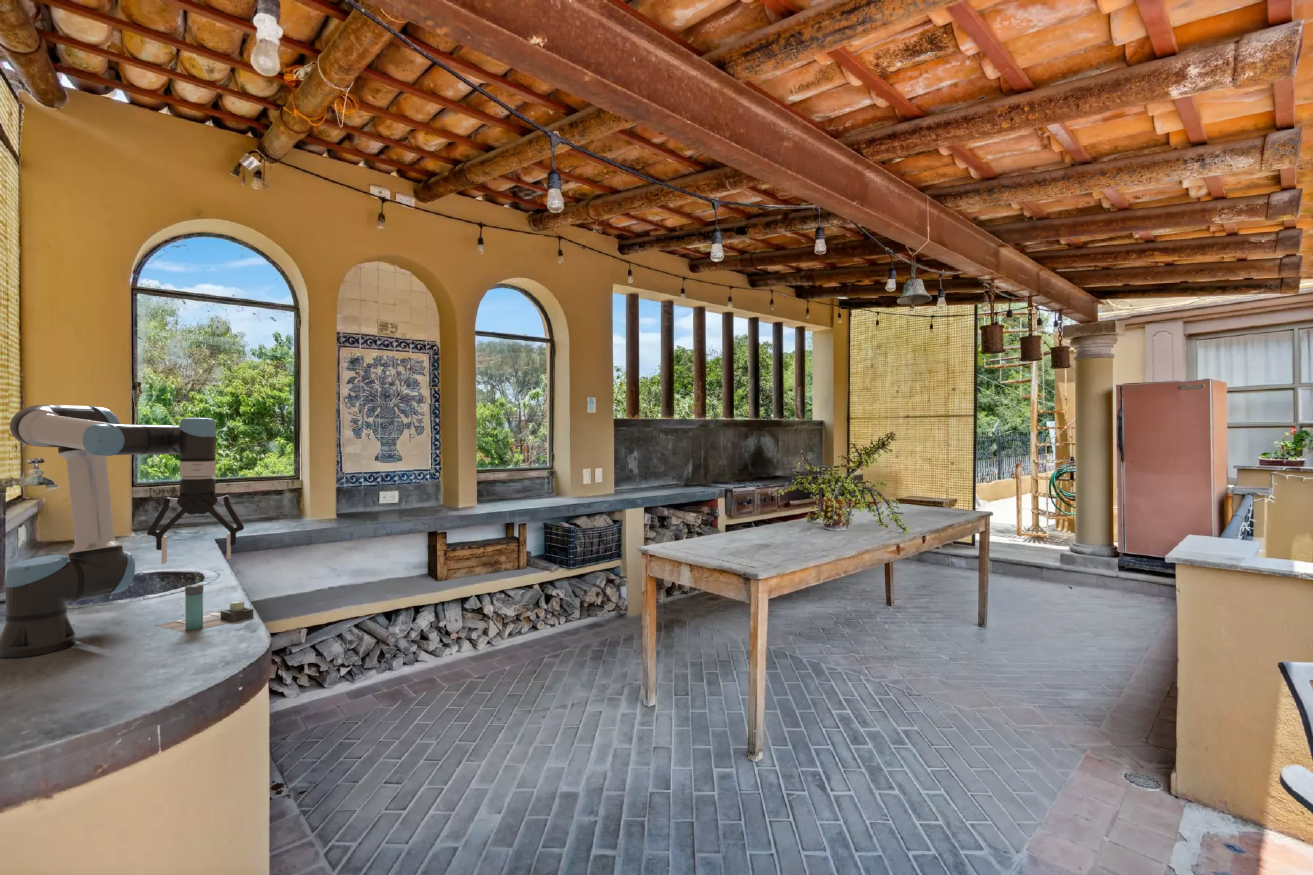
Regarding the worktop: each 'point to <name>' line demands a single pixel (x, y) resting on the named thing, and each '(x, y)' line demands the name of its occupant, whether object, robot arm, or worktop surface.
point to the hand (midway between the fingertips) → (197, 560)
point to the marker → (194, 607)
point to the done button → (237, 606)
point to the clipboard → (212, 619)
